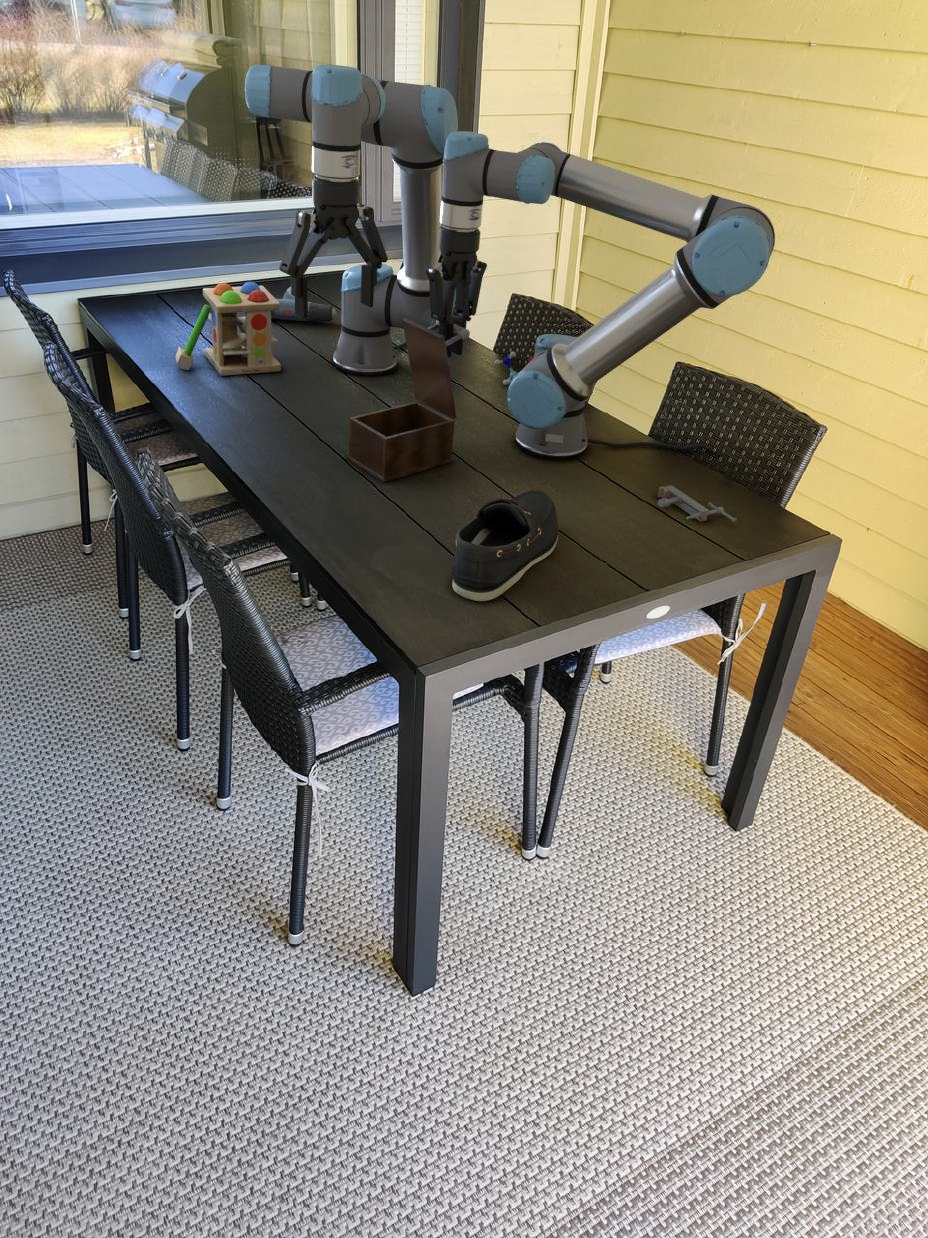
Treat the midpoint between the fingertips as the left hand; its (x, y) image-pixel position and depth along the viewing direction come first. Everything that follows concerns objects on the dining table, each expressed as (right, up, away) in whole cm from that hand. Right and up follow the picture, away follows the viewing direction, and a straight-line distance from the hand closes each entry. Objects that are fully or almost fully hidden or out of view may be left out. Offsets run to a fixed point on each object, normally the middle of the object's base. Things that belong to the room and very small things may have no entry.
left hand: (334, 310), depth 168 cm
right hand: (+20, -1, +22) cm, 30 cm away
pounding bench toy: (-34, +7, +62) cm, 71 cm away
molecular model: (+34, +2, +66) cm, 74 cm away
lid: (+15, -5, +21) cm, 26 cm away
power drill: (-21, +30, +99) cm, 106 cm away
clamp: (+65, -33, +19) cm, 75 cm away
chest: (+9, -21, +27) cm, 36 cm away
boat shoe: (+29, -42, 0) cm, 51 cm away
